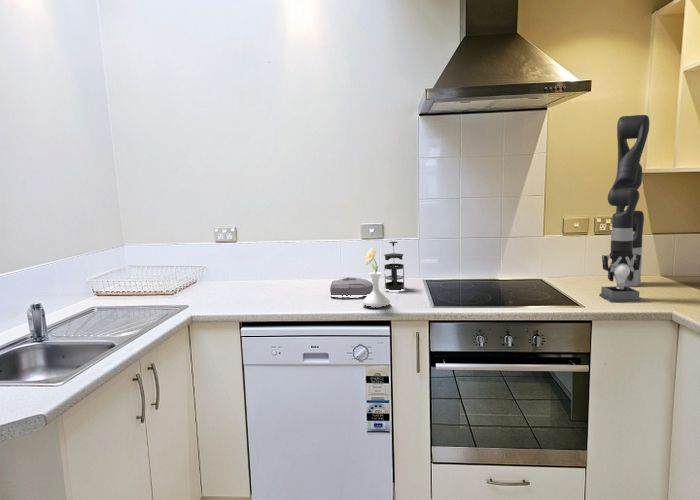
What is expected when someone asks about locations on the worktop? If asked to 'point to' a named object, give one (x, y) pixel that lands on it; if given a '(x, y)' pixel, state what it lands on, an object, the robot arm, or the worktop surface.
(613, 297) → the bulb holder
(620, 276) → the lightbulb
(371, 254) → the flower in vase
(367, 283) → the soft grey pack
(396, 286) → the french press
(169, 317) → the worktop surface
